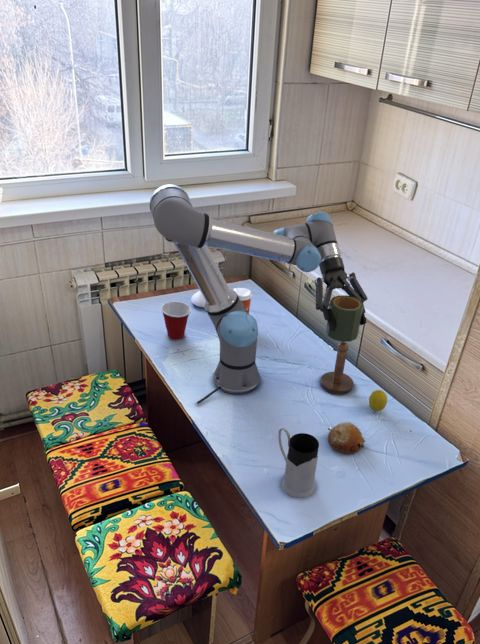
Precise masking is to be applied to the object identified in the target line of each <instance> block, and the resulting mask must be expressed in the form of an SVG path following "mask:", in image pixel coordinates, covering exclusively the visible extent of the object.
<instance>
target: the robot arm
mask: <svg viewBox="0 0 480 644" xmlns="http://www.w3.org/2000/svg"><path fill="white" fill-rule="evenodd" d="M149 210H150V213H151V216H152V219H153V224H154V227H155V229H156V230H157V232H158V233H159V234H160V235H161V236H162V237H163V238H164V239H165V240H166V241H167V243H173V244H174V246H175V248H176V250H177V252H178V253H179V255H180V257H181V259H182V260H183V262H184V264H185V266H186V268H187V269H188V271H189V273H190V275H191V277H192V279H193V280H194V282H195V284H196V286H197V288H198V289H199V291H201V293H202V295H203V297H204V298H205V300H206V303H205V307H204V309H205V312H206V313H207V315H208V317H209V318H210V321H211V322H212V324H213V326H214V329H215V332H216V335H217V338H218V341H219V361H218V362H217V365H216V368H215V370H214V372H213V384H214V386H215V389H214V390H212V391H211V392H209V393H208V394H206V395H205V396H204V397H203V398H201V399H200V400H198V401H196V404H197V405H199V404H201V403H203V402H204V401H205V400H207V399H208V398H209V397H211V396H212V395H214V394H216V393H217V392H218V391H220V392H223V393H225V394H229V395H235V396H236V395H238V396H240V395H247V394H250V393H252V392H254V391H255V390H257V389H258V387H259V385H260V381H261V379H260V378H261V377H260V373H259V369H258V366H257V363H256V357H257V345H258V344H257V343H258V336H259V328H258V327H259V326H258V322H257V320H256V318H255V317H254V316H253V315H252V314H249V315H248V314H247V313H246V311H245V307H244V305H243V303H242V302H241V301H240V299H239V297H238V295H237V293H236V292H235V291H234V290H233V288H229V286H228V284H227V281H226V279H225V278H224V276H223V273H222V271H221V269H220V268H219V266H218V264H217V262H216V260H215V258H214V256H213V255H212V252H211V250H210V247H211V248H215V249H220V250H225V251H229V252H234V253H239V254H244V255H246V256H247V255H248V256H251V257H257V258H260V259H266V260H270V261H275V262H279V263H284V264H288V265H292V266H296V267H297V269H299V270H300V271H302V272H303V273H311V272H313V271H315V270H316V269H318V268H319V271H320V274H321V276H322V277H320V276H319V277H317V278H316V279H314V285H315V310H317V311H320V312H321V313H322V314H323V318H324V320H325V321H326V322H327V321H328V325H329V328H330V331H333V330H335V329H336V325H335V322H334V318H333V314H332V311H331V308H330V309H329V306H330V301H331V299H332V298H331V297H332V293H333V290H335V289H338V290H339V289H341V290H342V291H344V292H345V293H346V294H347V296H352V297H355V298H357V299H359V300H361V301H362V303H363V305H364V303H365V302H366V301H367V300H368V298H369V297H368V296H367V294H366V292H365V291H364V289H363V288H362V286H361V284H360V283H359V281H358V279H357V276H356V273H355V272H351V273H347V272H346V271H345V265H344V261H343V257H342V254H341V250H340V246H339V243H338V241H337V238H336V237H337V236H336V233H335V229H334V224H333V221H332V218H331V216H330V214H329V213H328V212H326V211H318V212H315V213H312V214H310V215H309V216H308V217H307V218H306V222H305V223H301V224H295V225H289V226H283V227H281V228H276V229H275V230H274V231H273V233H272V232H268V231H264V230H260V229H256V228H252V227H247V226H244V225H240V224H236V223H231V222H228V221H223V220H219V219H216V218H215V219H214V218H212V217H211V215H210V214H209V213H206V212H202V211H200V210H197V209H195V208H194V207H193V205H192V202H191V201H190V197H189V195H188V193H187V192H186V191H185V190H184V189H183V188H182V187H180V186H179V185H175V184H171V183H170V184H164V185H161V186H159V187H158V188H157V189H155V190H154V191H153V193H152V194H151V197H150V200H149ZM324 284H325V285H326V286H325V292H324ZM323 292H324V293H323ZM323 294H324V296H323ZM365 314H366V308H365V305H364V306H363V311H362V317H361V322H360V326H363V325H365V324H367V323H368V321H367V318H366V315H365Z"/></svg>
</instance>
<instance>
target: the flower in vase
mask: <svg viewBox="0 0 480 644" xmlns="http://www.w3.org/2000/svg"><path fill="white" fill-rule="evenodd" d="M190 301H191V303H192V304H193V305H194V306H196V307H199V308H205V303H206V300H205V298H204V297H203V295H202V293H201V291H200V290H198V291H197V292H195V293H193V295H192V296H191V298H190Z"/></svg>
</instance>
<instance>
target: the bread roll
mask: <svg viewBox="0 0 480 644" xmlns="http://www.w3.org/2000/svg"><path fill="white" fill-rule="evenodd" d="M327 441H328V444H329V446H330V447H331V448H332V449H333V450H334V451H336V452H338V453H342V454H344V455H345V454H347V455H352V454H356V453H358V452H359V451H361V450H362V448H365V445H364V443H365V442H366V440H365V438H364V437H363V434H362V431H361V430H360V429H359V427H358V426H356V425H355V424H354V423H352V422H347V421H346V422H340V423H338V424H337V425H335V426H334V427H332V428H331V429H330V431H329V432H328V435H327Z"/></svg>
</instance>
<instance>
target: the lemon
mask: <svg viewBox="0 0 480 644" xmlns="http://www.w3.org/2000/svg"><path fill="white" fill-rule="evenodd" d="M387 404H388V396H387V394H386V392H385V391H383V390H381V389H376V390H374V391H372V392H371V393H370V396H369V398H368V405H369V407H370V409H371V410H372V411H375V412H380V411H381V412H382V411H383V410H384V409H385V408H386V406H387Z"/></svg>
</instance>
